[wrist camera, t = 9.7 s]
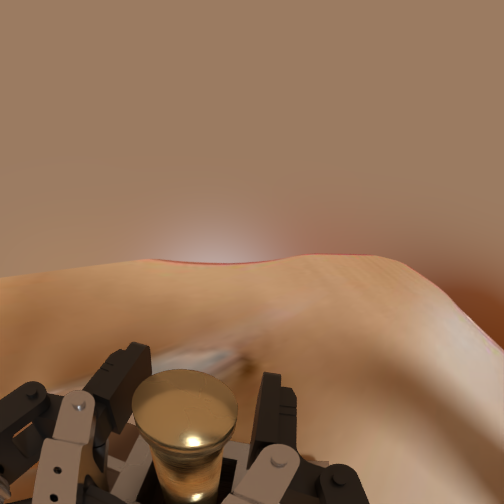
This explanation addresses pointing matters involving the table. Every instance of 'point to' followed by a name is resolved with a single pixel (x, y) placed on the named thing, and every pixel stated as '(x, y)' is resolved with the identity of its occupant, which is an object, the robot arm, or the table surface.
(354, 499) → the robot arm
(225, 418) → the brass capped peg
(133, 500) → the grey winged socket holder
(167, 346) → the table surface
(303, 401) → the table surface
